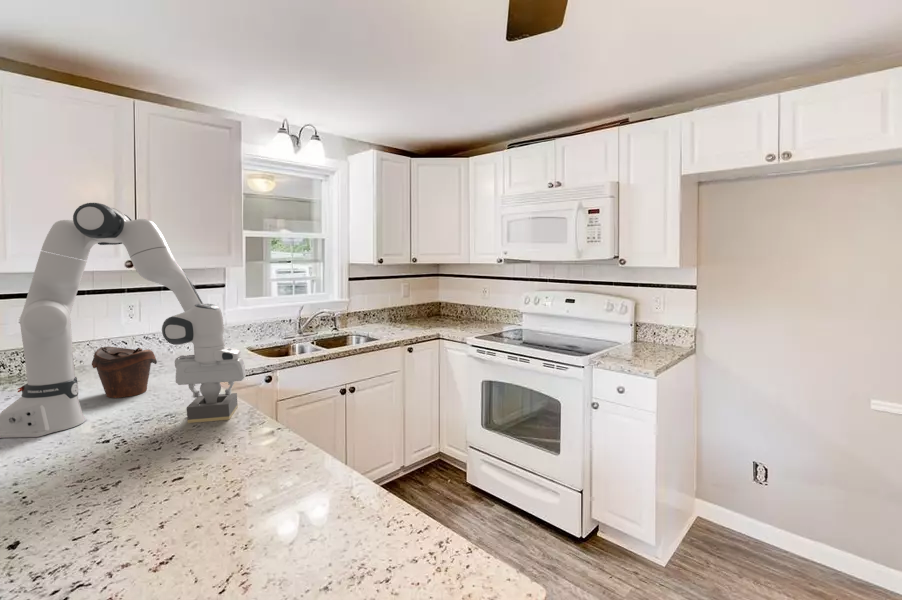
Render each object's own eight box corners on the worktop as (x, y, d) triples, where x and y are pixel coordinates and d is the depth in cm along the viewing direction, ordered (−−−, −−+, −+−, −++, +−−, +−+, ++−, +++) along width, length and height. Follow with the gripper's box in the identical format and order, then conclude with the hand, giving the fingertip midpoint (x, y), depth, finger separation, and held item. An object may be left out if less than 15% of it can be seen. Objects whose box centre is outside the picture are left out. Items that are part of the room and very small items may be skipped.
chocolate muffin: (160, 393, 173) (156, 346, 171) (93, 404, 162) (88, 354, 160) (158, 383, 188) (154, 340, 186) (96, 392, 177) (92, 346, 175)
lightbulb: (213, 415, 146) (212, 381, 145) (196, 414, 147) (194, 381, 146) (226, 409, 152) (224, 376, 151) (210, 408, 153) (208, 376, 152)
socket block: (187, 422, 143) (186, 407, 142) (199, 410, 154) (198, 395, 154) (229, 419, 146) (228, 404, 145) (237, 407, 157) (236, 393, 157)
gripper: (170, 358, 143) (173, 401, 144) (241, 354, 147) (243, 396, 149) (177, 353, 149) (180, 395, 150) (245, 350, 153) (247, 390, 155)
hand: (212, 395), depth 149 cm, fingers open, 8 cm apart
